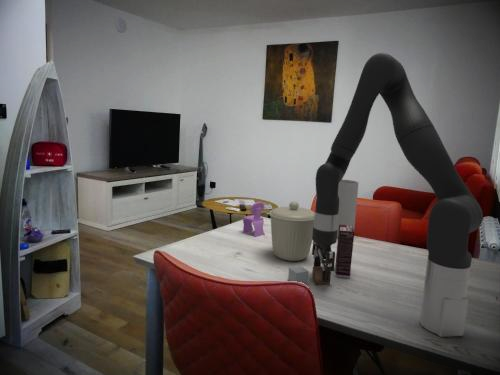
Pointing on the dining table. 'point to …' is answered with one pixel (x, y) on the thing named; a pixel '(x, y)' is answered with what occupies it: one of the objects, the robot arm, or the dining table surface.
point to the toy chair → (254, 219)
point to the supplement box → (344, 251)
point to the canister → (291, 231)
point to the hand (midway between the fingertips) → (321, 275)
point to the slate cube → (298, 274)
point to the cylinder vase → (347, 202)
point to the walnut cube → (319, 276)
